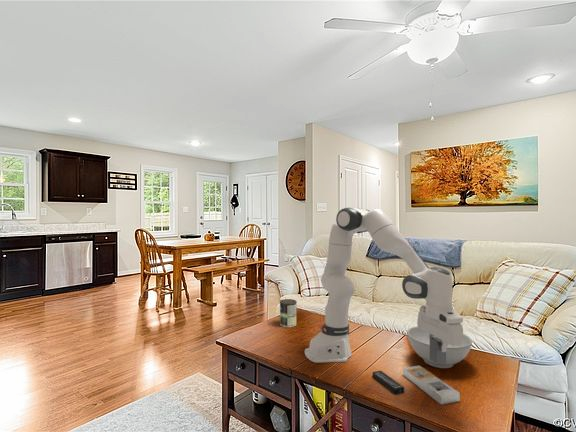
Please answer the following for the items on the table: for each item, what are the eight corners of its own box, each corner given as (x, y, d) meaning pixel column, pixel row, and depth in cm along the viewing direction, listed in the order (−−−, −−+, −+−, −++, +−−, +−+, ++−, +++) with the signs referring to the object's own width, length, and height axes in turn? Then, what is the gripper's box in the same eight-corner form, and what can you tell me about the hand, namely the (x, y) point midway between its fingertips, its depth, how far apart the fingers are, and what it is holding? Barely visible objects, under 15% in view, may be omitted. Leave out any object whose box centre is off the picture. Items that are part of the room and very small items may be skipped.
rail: (441, 404, 116) (441, 395, 116) (403, 375, 137) (403, 367, 137) (459, 401, 118) (459, 392, 118) (419, 372, 139) (419, 365, 139)
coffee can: (278, 326, 194) (278, 303, 194) (280, 321, 204) (280, 298, 204) (295, 327, 193) (296, 303, 193) (297, 321, 203) (297, 299, 203)
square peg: (436, 363, 120) (437, 341, 120) (429, 359, 124) (429, 337, 123) (446, 362, 121) (446, 341, 121) (438, 357, 125) (438, 337, 125)
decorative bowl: (464, 353, 158) (465, 328, 157) (478, 381, 132) (479, 351, 132) (406, 346, 166) (406, 323, 166) (408, 371, 140) (408, 343, 140)
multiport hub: (380, 375, 137) (380, 370, 137) (404, 393, 123) (404, 387, 123) (371, 377, 135) (371, 372, 135) (395, 395, 122) (395, 389, 122)
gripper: (413, 304, 131) (412, 338, 131) (451, 320, 111) (451, 361, 112) (426, 303, 133) (426, 337, 133) (466, 319, 113) (466, 359, 113)
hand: (437, 348), depth 122 cm, fingers closed on square peg, 4 cm apart
